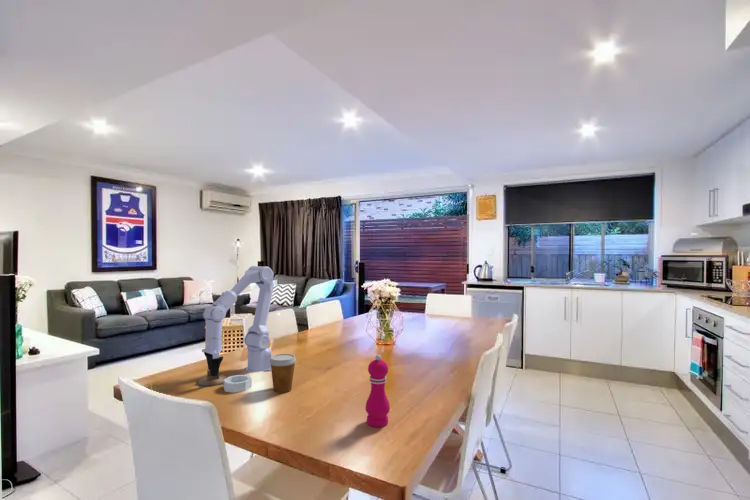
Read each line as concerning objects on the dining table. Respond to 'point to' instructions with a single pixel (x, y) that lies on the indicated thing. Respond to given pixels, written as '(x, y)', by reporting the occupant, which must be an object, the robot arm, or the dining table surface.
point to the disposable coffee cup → (282, 372)
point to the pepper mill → (377, 394)
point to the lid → (212, 379)
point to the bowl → (237, 383)
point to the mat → (206, 386)
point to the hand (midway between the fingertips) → (212, 372)
